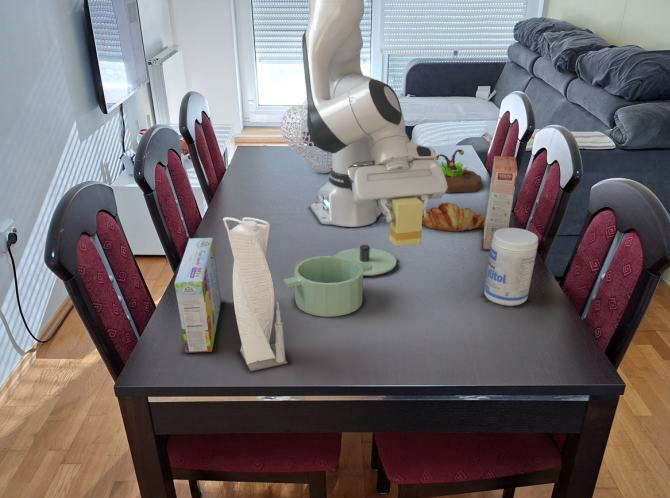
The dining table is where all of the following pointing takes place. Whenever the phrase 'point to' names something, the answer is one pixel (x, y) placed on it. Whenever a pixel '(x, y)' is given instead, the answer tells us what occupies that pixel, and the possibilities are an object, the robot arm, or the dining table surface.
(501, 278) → the supplement tub
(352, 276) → the pot
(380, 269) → the pot lid
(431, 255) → the dining table surface
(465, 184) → the plant
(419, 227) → the butter
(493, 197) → the cracker box
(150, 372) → the dining table surface
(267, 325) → the skyscraper
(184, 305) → the snack box
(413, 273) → the dining table surface
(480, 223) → the croissant
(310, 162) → the heart
